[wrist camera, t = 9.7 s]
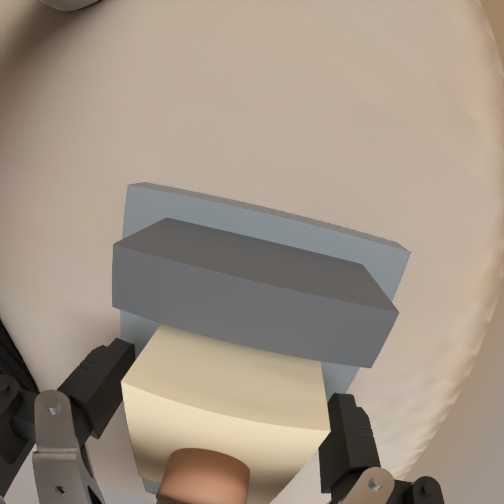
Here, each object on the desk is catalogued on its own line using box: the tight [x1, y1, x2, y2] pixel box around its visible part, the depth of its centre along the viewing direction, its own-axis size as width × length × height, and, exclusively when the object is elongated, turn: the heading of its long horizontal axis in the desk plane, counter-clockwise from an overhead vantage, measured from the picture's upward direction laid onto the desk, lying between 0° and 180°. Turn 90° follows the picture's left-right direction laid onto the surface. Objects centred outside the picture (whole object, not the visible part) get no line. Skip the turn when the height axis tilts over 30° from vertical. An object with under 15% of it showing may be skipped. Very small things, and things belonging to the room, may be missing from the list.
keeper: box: [121, 324, 331, 504], centre depth 8 cm, size 6×5×7 cm
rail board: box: [112, 182, 411, 504], centre depth 14 cm, size 32×12×6 cm, turn 167°
